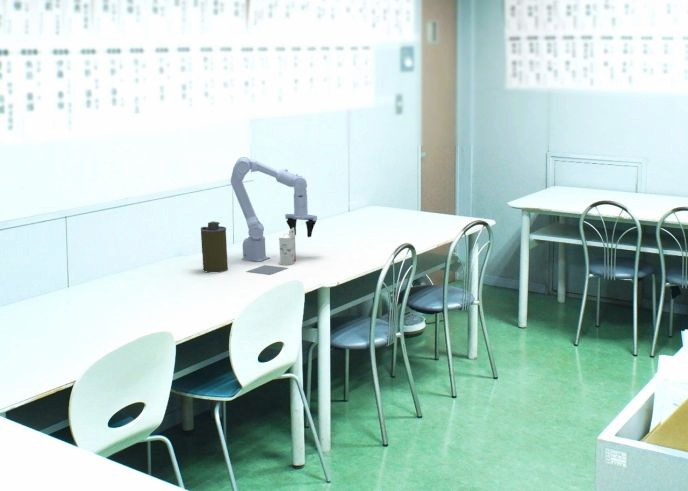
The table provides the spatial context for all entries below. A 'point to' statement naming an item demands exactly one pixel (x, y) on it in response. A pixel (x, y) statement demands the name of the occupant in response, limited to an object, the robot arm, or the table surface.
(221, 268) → the canister
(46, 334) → the table surface
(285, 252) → the ink cartridge box
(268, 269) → the mat
